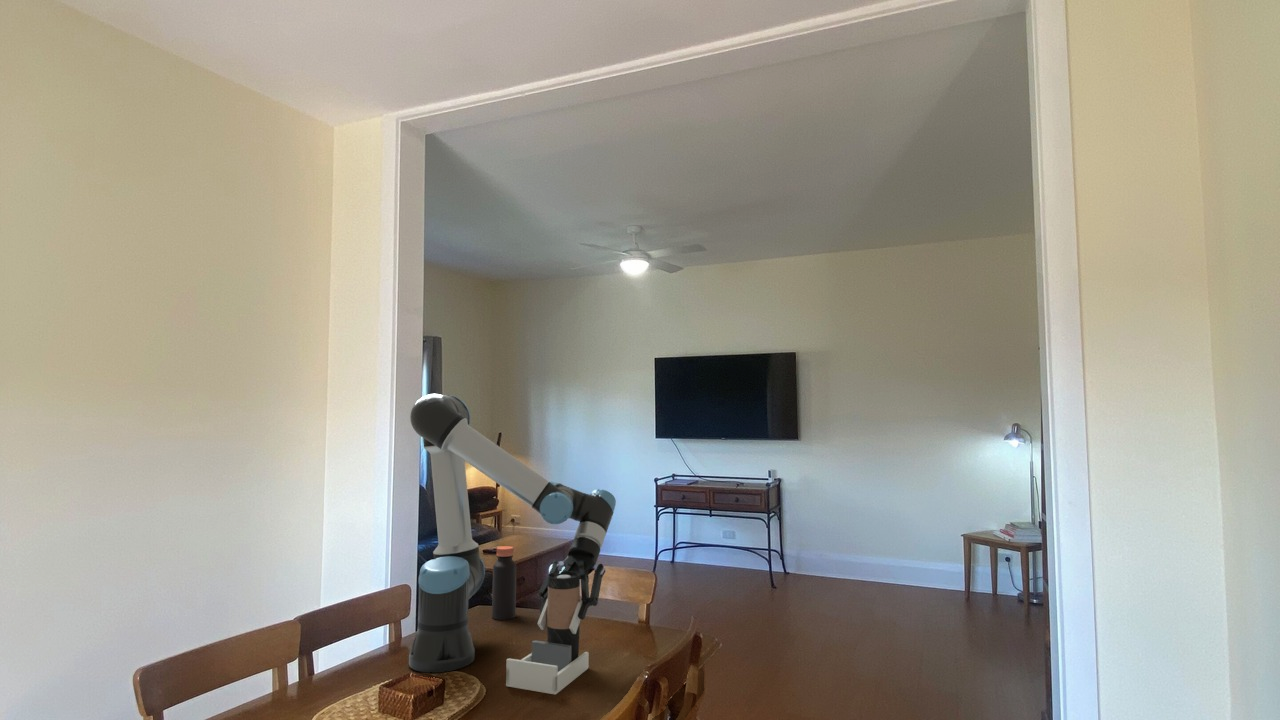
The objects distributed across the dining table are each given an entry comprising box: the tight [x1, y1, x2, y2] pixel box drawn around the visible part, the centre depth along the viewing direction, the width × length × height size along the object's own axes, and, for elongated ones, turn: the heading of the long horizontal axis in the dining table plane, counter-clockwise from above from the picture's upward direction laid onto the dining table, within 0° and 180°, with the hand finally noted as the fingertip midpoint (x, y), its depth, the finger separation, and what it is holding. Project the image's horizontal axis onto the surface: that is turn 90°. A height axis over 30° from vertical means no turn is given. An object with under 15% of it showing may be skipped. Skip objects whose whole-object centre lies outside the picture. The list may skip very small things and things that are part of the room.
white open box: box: [505, 651, 590, 696], centre depth 149 cm, size 12×16×6 cm
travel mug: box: [546, 570, 581, 662], centre depth 155 cm, size 8×8×20 cm
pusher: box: [531, 639, 571, 672], centre depth 150 cm, size 10×2×6 cm, turn 69°
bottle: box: [491, 545, 517, 621], centre depth 195 cm, size 7×7×20 cm
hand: (556, 628), depth 152 cm, fingers closed on travel mug, 7 cm apart
